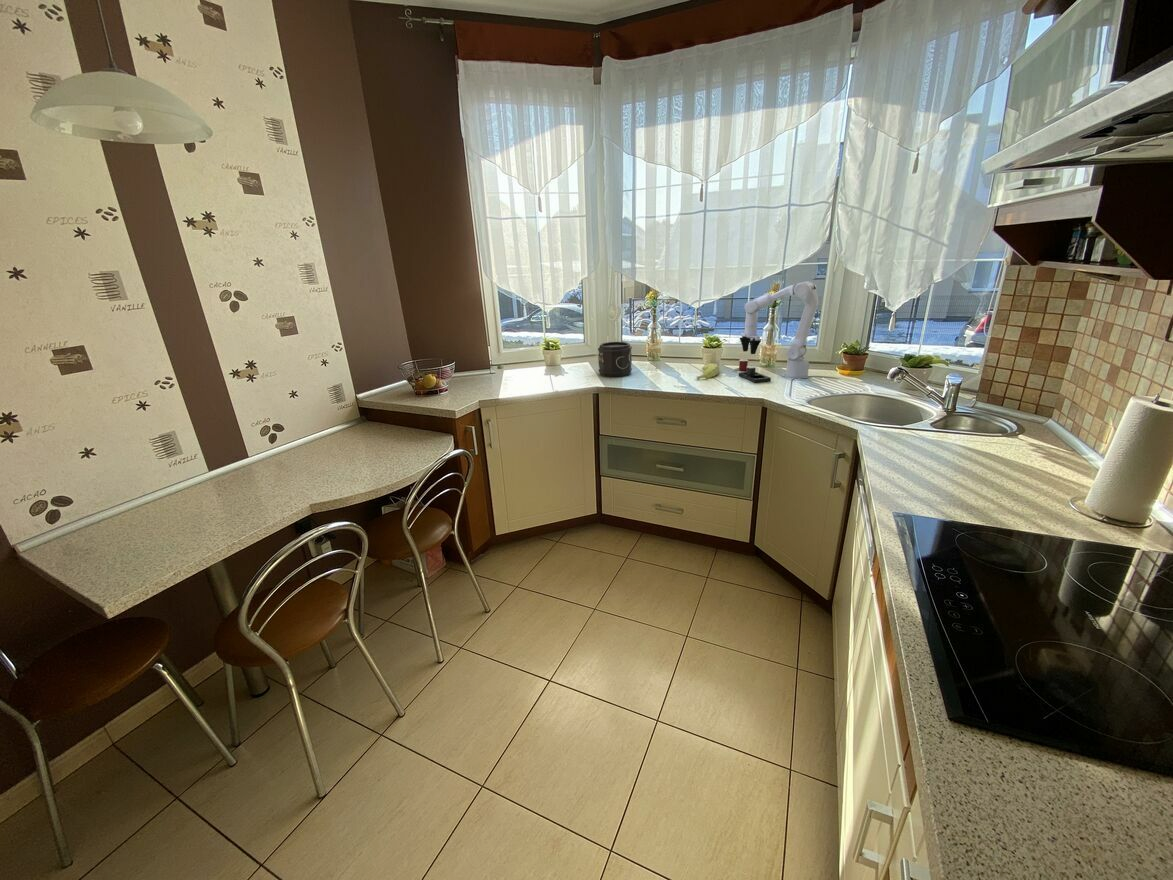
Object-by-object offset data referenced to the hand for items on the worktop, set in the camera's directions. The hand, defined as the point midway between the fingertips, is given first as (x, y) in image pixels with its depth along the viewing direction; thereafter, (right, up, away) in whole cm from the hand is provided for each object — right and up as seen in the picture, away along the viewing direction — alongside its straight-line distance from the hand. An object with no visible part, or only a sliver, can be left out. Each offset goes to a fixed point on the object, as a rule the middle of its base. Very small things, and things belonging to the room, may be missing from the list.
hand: (749, 352), depth 242 cm
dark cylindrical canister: (-67, -9, +13) cm, 69 cm away
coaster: (-1, -9, +5) cm, 10 cm away
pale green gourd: (-22, -12, 0) cm, 25 cm away
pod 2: (-3, -14, -9) cm, 17 cm away
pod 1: (-1, -8, +5) cm, 10 cm away
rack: (-2, -16, -12) cm, 20 cm away
